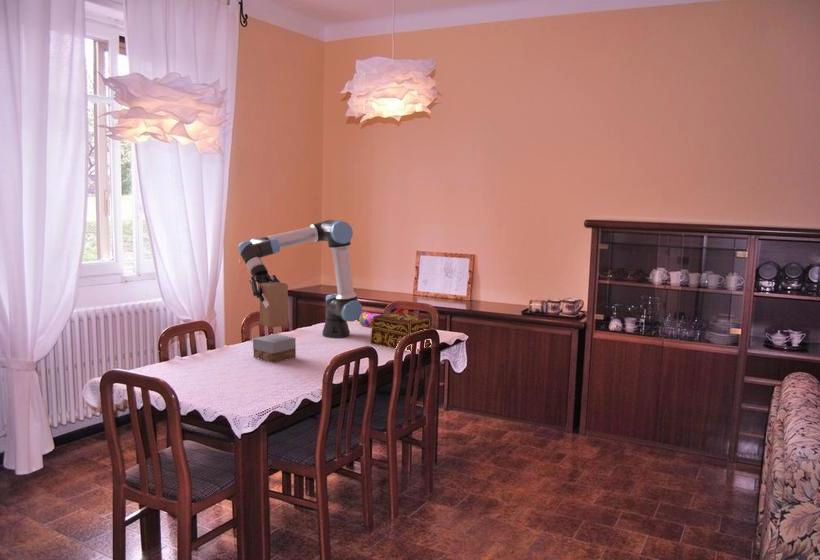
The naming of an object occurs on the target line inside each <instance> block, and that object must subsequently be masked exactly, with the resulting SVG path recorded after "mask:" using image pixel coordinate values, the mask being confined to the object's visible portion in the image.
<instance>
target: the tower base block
mask: <svg viewBox="0 0 820 560" xmlns="http://www.w3.org/2000/svg"><path fill="white" fill-rule="evenodd" d="M296 351H297V349H296V348H294V349H290V350H286V351H281V352H277V353H269V352H265V351H260V350H256V349H253V358H254V357H256V358H255V359H257V358H259V359H258V360H260V359H262V360H261V361H264V360H265V361H264V362H267V361H268V362H267V363H270V362H274V363H278V362H282V361H281V360H283V361H287V360H286V359H288V360H291V358H292V359H296V358H295V357H297V355H296ZM277 361H278V362H277Z"/></svg>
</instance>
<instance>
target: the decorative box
mask: <svg viewBox="0 0 820 560" xmlns="http://www.w3.org/2000/svg"><path fill="white" fill-rule="evenodd" d="M424 329H431V330H432V325H431V318H429V317H423V316H417V315H413V314H412V315H411V314H406V313H404V314H401V313H396V312H390V313H389V312H388V313H384V314H381V315H378V316H373V322H372V327H371V331H370V340H369V341H370V343H369V344H371V345H375V346H379V345H381V347H384V346H385V348H388V347H390V348H389V349H392V350H393V349H394V350H396V349H395V348H396V346H397V344H398V343H399V341H400V340H401V339H402V338H403V337H404V336H406V335H408V334H410V333H414V332H417V331H420V330H424ZM430 345H431V343H430V340H426V342H425V347H428V348H430V347H429V346H430ZM407 350H410V351H411V345H410V346H408V347H407Z"/></svg>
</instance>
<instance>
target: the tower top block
mask: <svg viewBox="0 0 820 560" xmlns="http://www.w3.org/2000/svg"><path fill="white" fill-rule="evenodd" d="M294 348H296V337H294V336H287V335H282V334H278V333H272V334H268V335H263V336H259V337H254V338H252V349H253V350H254V349H256V350H260V351H265V352H269V353H277V352H281V351H286V350H290V349H294Z"/></svg>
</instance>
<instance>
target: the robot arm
mask: <svg viewBox="0 0 820 560" xmlns="http://www.w3.org/2000/svg"><path fill="white" fill-rule="evenodd" d="M353 235H354V232H353V228H352V226H351V225H350V224H349V223H348V222H346V221H344V220H338V219H326V220H323V221H319V222H316V223H313V224H310V225H309V226H308V227H303V228H300V229H299V228H298V229H295V230H291V231H285V232H280V233H276V234H272V235H267V236H264V237H259V238H258V237H254V238H251V240H244V241H242V242H240V243H239V244H238V246H237V251H238V253H239V256H240V257H241V258H242V260H243V262H244V263H245V265H246V267H247V270H248V271H249V272H250V275H251V277H250V278H249V280H248V281H249V283H250V285H251V290H252V295H253V297H256V298H258V300H259V301H260V300H261V302H263V304H264V306H265V308H267V307H268V306H269V305H270V304H269V302H268V300H267V299H266V297H265V295H264V293H263V294H262V289H261V287H260V284H261V283H268V282H280V283H282V282H281V281H280V280H279V279H278V278H277V276H276V275H275V274H273V275H269V272H268V269H267V267H266V266H265V264H264V262H263V260H262V259H263V258H266V257H268V256H272V255H275V254H278V253H280V251H281V249H284V248H287V247H291V246H297V245H300V244H304V243H309V242H314V243H317V242H327V244H328V249H330V250H331V251H332V260H333V266H334V267H333V268H334V276H335V283H336V290H337V291H336V292H337V293H332V294H327V295H325V322H324V326H323V329H322V332H321V333H322V336H323V337H326V338H337V339H338V338H345V337H346V338H347V337H349V336H350V334H351V333H350V332H351V331H350V329H349V328H350V327H349V325H348V322H350V323H351V322H356V321H357V319H358V318H359V317H360V316H361V314H362V311H363V306H362V304H361V302H360V301H358V294H357V293H356V292H355V291H354V283H353V276H352V267H351V259H350V252H349V251H350V250H349V247H351V246H352V244H351V240H352V238H353ZM261 258H262V259H261ZM288 303H289V300H288Z"/></svg>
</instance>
